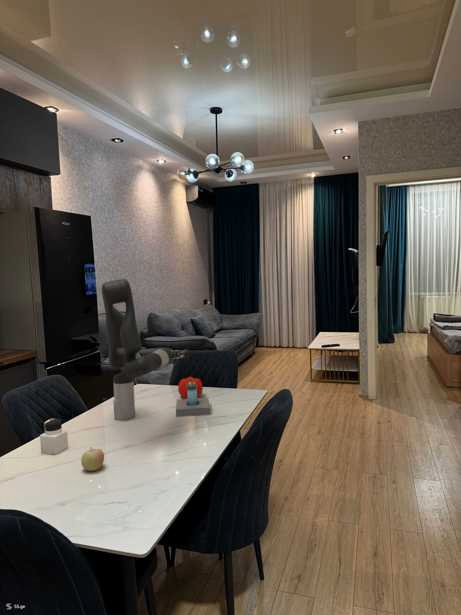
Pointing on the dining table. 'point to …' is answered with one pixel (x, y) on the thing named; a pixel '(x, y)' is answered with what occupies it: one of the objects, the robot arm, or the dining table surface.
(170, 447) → the dining table surface
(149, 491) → the dining table surface
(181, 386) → the tomato
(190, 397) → the plug
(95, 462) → the fruit
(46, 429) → the medicine bottle
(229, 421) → the dining table surface
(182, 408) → the socket block
